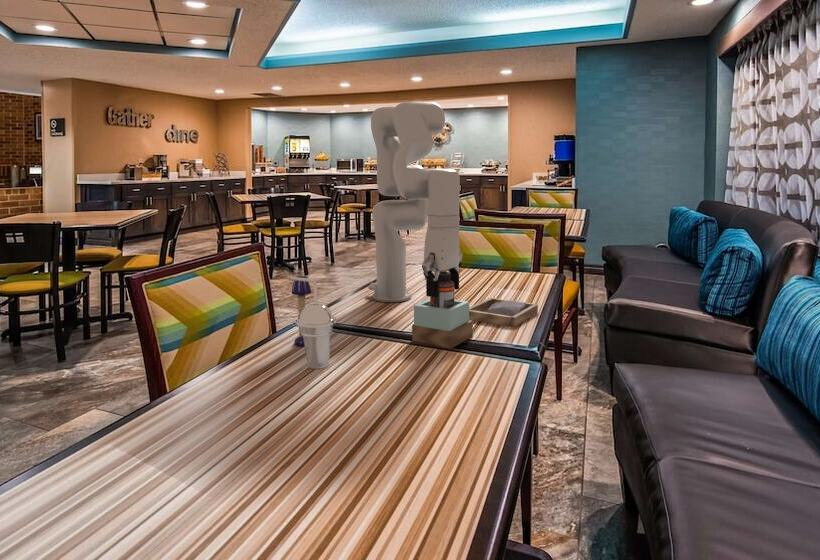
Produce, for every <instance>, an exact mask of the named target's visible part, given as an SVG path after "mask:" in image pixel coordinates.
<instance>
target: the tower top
mask: <svg viewBox="0 0 820 560" xmlns="http://www.w3.org/2000/svg"><path fill="white" fill-rule="evenodd" d="M469 307H470V301H466V300H457V299H454V306H453V307H451V308H449V309H445V308H438V307H431V306H430V298H429V299H426V300H424V301H421V302H418V303H417V304H414V305H413V324H414V325H416V326H422V327H428V328H434V329H440V330H445V331H451V330H453V329H455V328H457V327H459V326H461V325H463V324H464V323H466V322H468V321H469Z"/></svg>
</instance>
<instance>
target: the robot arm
mask: <svg viewBox="0 0 820 560" xmlns="http://www.w3.org/2000/svg"><path fill="white" fill-rule="evenodd" d="M445 124H446V115H445V112H444V110H443V108H442V106H441V105H439V103H436V102H433V101H432V102H431V101H430V102H429V101H403V102H400V103H398V104H397V105H395V106H382V107H378V108H375V110H374V111H373V112H372V113H371V117H370V130H371V134H372V138H373V141H374V145H375V148H376V186H377V187H376V188H377V191H378V193H379V194H380V195H382V196H386V197H402V198H404V199H405V200H403V199H402V200H401V199H396V200H395V199H392V200H389V199H388V200H381V201H379V202H377V203H376V204H375V205H373V208H372V212H371V215H372V221H373V228H374V234H375V256H376V258H375V259H376V260H375V263H376V282H371V283H370V284H369V285H368V287H367V288H368V290H369V291H370V290H372V291H374V293H373V294H372V295H371V297H372V300H374V301H376V302H380V303H381V302H382V303H400V302H405V301H408V300H411V298H412V294H411V292H409V291H407V264H406V263H407V259H406V257H407V256H406V253H407V250H406V246H407V245H406V243H405V241H404V239H403V237H402V236H401V235H400V234H399V232H401V231H413V230H415V231H416V230H421V229H423V228H425V226H426V224H427V229H426V233H425V239H424V247H423V249H424V250H423V251H424V252H423V262H422V263H421V269H422V274H423V276H424V280H425V285H426V286H425V289H426V290H425V292H426V293H425V296H427V297H429V298H430V297H439V281H437V279H438V276H439V274H440V272H442V271H444V272H446V271H447V272H450V273H451V278H450V280H451V281H453V282H454V286H455V288H454V289H455V291H457V290H459V289H460V274H461V266H462V260H463V256H464V255H463V253H462V252H461V245H460V244H461V243H460V232H459V230H460V189H461V187H460V184H461V183H460V182H461V179H460V178H461V177H460V173H459V171H457V170H455V169H447V168H427V167H426V168H424V167H422V166H421V165H418V164H413V163H415V162H417V161H419V160H421V159H423V158H425V157H427V156H428V155H429V154H430V153H431V151H432V150H433V148H434V138H433V136H436V135H439V134H441V132H442V131H443V130H444V127H445ZM411 164H412V165H411ZM433 272H434V273H435V274H434V273H433Z"/></svg>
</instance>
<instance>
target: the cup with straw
mask: <svg viewBox="0 0 820 560" xmlns="http://www.w3.org/2000/svg"><path fill="white" fill-rule="evenodd" d="M288 279H289V281H294V280H295V281H306V282H309V283H312V284H313V299H314V300H313V303H309V304H308V305H305V308H304V309H303V310H302V312H301V315H300V317H298V318H296V322H295V323H296V325H297V326H298V327H299V326H300V328H301V332H302V335H303V339H304V345H305V346H304V350H305V355H306V362H307V364H308V365H307V367H308V368H310V369H315V370H319V369H325V368H326V367H329V366H330V362H329V361H330V356H331V342H332V341H331V340H332V334H333V330H334V329H333V328H334V324H336V323H337V318H336V316H335V315H333V313H332V311H331V309H330V308H329V306H327V305H325V304H323V303H320V302H318V300H319V299H318V284H317V280H316V279H313V278H308V277H307V278H298V277H297V276H290V277H289V278H288Z"/></svg>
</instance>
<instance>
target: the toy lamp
mask: <svg viewBox="0 0 820 560" xmlns="http://www.w3.org/2000/svg"><path fill="white" fill-rule="evenodd" d="M296 277H298V278H308V277H307V276H306V275H298V276H296ZM309 294H312V289H311V285H310V282H306V281H295V280H293V283H292V288H291V295H294V296H297V299H298V300H297V306H298V307H297V310H298V315H297V316H298V318H299V317H300V315H301V312H302V310H303V309H304V308H305V307H306V296H307V295H309ZM298 331H299V332H298V335H299V336H297V337H296V338H295V339H294V342H293V345H294V346H295V345H296V346H297V347H305V345H304V339H303V335H302V332H301V328H300V326H298Z"/></svg>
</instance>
